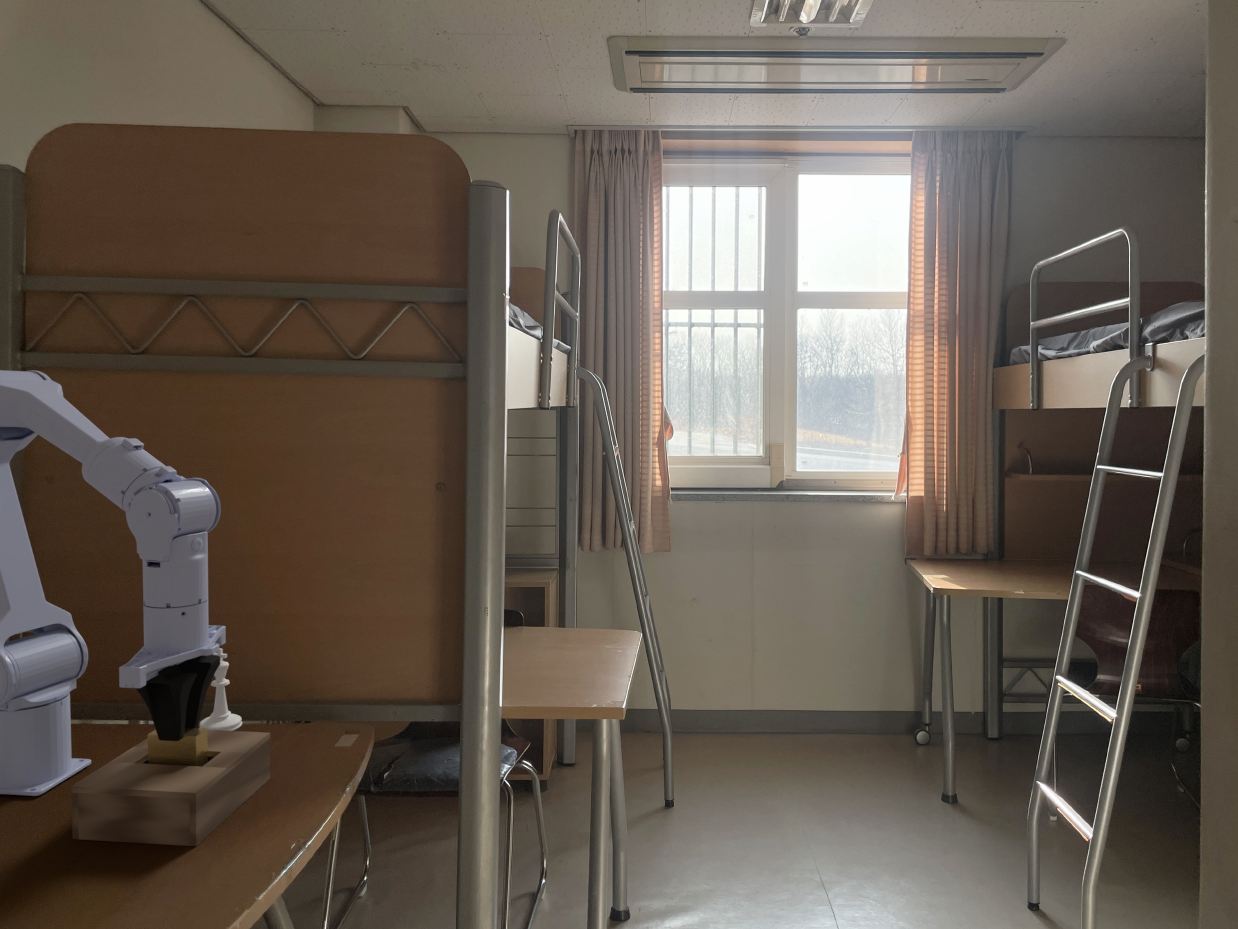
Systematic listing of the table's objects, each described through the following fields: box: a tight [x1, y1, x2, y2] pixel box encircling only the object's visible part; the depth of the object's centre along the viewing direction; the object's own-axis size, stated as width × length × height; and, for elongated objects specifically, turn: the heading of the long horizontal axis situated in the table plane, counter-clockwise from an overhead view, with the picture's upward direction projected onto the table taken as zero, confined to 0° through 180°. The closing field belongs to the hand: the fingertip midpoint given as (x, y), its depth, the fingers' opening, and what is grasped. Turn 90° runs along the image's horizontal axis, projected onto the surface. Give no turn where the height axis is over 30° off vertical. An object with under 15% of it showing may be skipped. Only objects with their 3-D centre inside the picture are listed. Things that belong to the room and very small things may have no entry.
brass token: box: [147, 727, 208, 767], centre depth 83 cm, size 5×2×5 cm, turn 86°
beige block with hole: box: [70, 730, 271, 847], centre depth 83 cm, size 12×14×5 cm
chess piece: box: [198, 647, 243, 731], centre depth 103 cm, size 5×5×10 cm
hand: (178, 734), depth 82 cm, fingers closed on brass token, 2 cm apart
